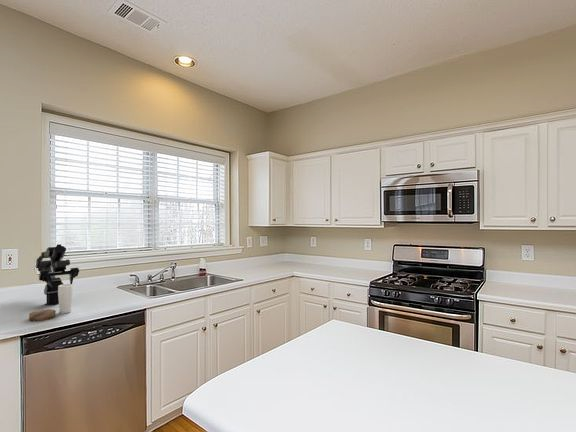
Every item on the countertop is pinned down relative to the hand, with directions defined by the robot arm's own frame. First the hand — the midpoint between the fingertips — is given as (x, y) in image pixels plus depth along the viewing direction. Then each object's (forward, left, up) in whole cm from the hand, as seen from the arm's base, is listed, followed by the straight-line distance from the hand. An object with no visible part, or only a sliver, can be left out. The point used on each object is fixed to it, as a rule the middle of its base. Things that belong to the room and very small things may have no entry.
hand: (62, 285), depth 184 cm
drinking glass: (+5, -6, -14) cm, 16 cm away
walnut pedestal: (-1, -15, -14) cm, 21 cm away
